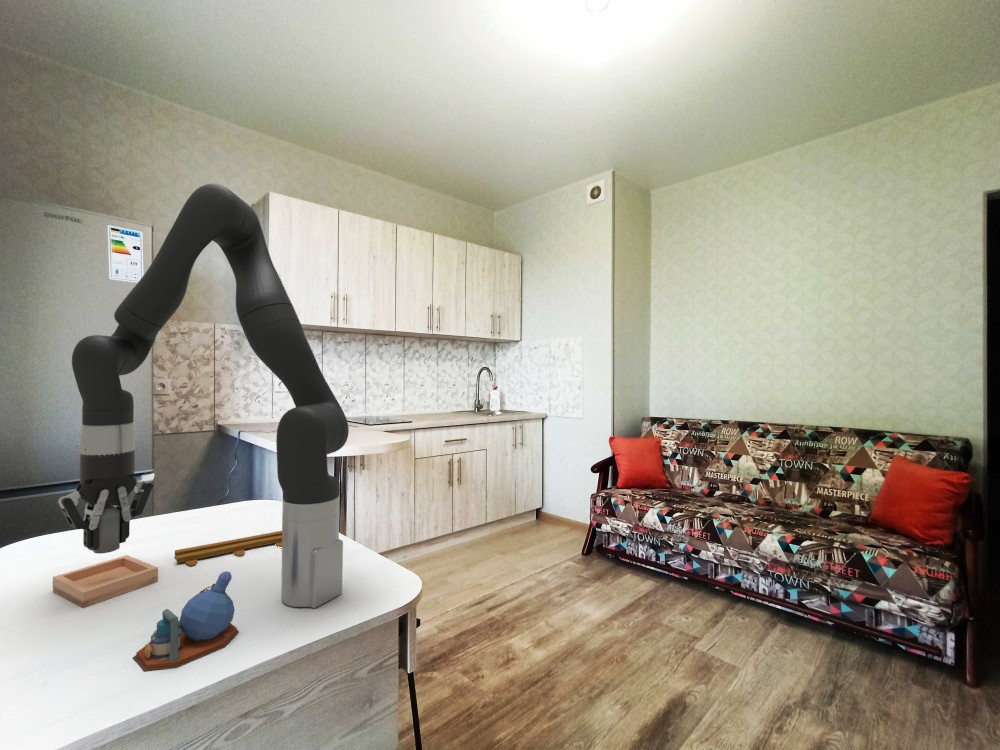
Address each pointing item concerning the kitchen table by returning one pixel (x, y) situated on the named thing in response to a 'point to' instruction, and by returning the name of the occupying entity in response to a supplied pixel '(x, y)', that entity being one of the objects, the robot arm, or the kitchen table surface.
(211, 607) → the model
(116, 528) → the plug
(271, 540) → the decorative fence
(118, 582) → the dish
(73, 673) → the kitchen table surface
